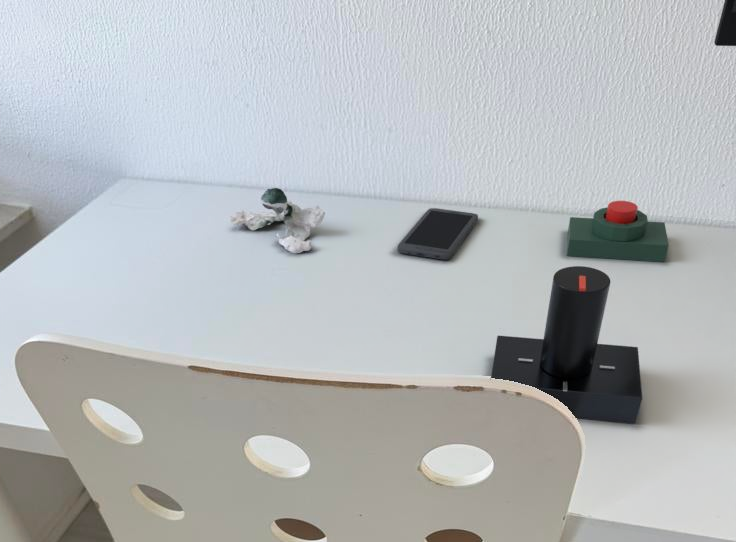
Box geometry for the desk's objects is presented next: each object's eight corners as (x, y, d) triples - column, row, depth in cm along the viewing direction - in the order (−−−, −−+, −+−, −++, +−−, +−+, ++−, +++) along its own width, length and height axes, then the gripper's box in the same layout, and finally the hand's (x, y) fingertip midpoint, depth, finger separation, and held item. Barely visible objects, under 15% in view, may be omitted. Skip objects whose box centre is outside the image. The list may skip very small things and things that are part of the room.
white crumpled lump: (345, 222, 105) (319, 186, 98) (318, 274, 105) (291, 242, 98) (264, 200, 112) (235, 166, 105) (239, 249, 112) (208, 218, 105)
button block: (660, 238, 101) (668, 208, 99) (664, 262, 96) (672, 231, 94) (567, 233, 104) (572, 203, 101) (566, 255, 99) (571, 225, 96)
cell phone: (395, 252, 101) (395, 247, 100) (429, 212, 110) (429, 206, 109) (449, 261, 98) (449, 255, 98) (479, 218, 107) (479, 213, 107)
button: (634, 214, 98) (637, 201, 97) (635, 226, 96) (638, 212, 95) (605, 213, 99) (607, 199, 98) (605, 224, 97) (608, 211, 95)
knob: (540, 348, 77) (554, 261, 71) (591, 352, 76) (610, 264, 70) (539, 376, 74) (553, 286, 67) (592, 380, 73) (612, 290, 66)
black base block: (631, 371, 79) (638, 344, 77) (635, 424, 73) (643, 397, 71) (494, 359, 82) (497, 333, 79) (486, 409, 75) (489, 382, 73)
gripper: (870, -257, 64) (773, 60, 81) (835, -254, 74) (754, 30, 90) (774, -252, 66) (698, 58, 82) (751, -249, 75) (687, 30, 91)
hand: (727, 44), depth 86 cm, fingers closed
